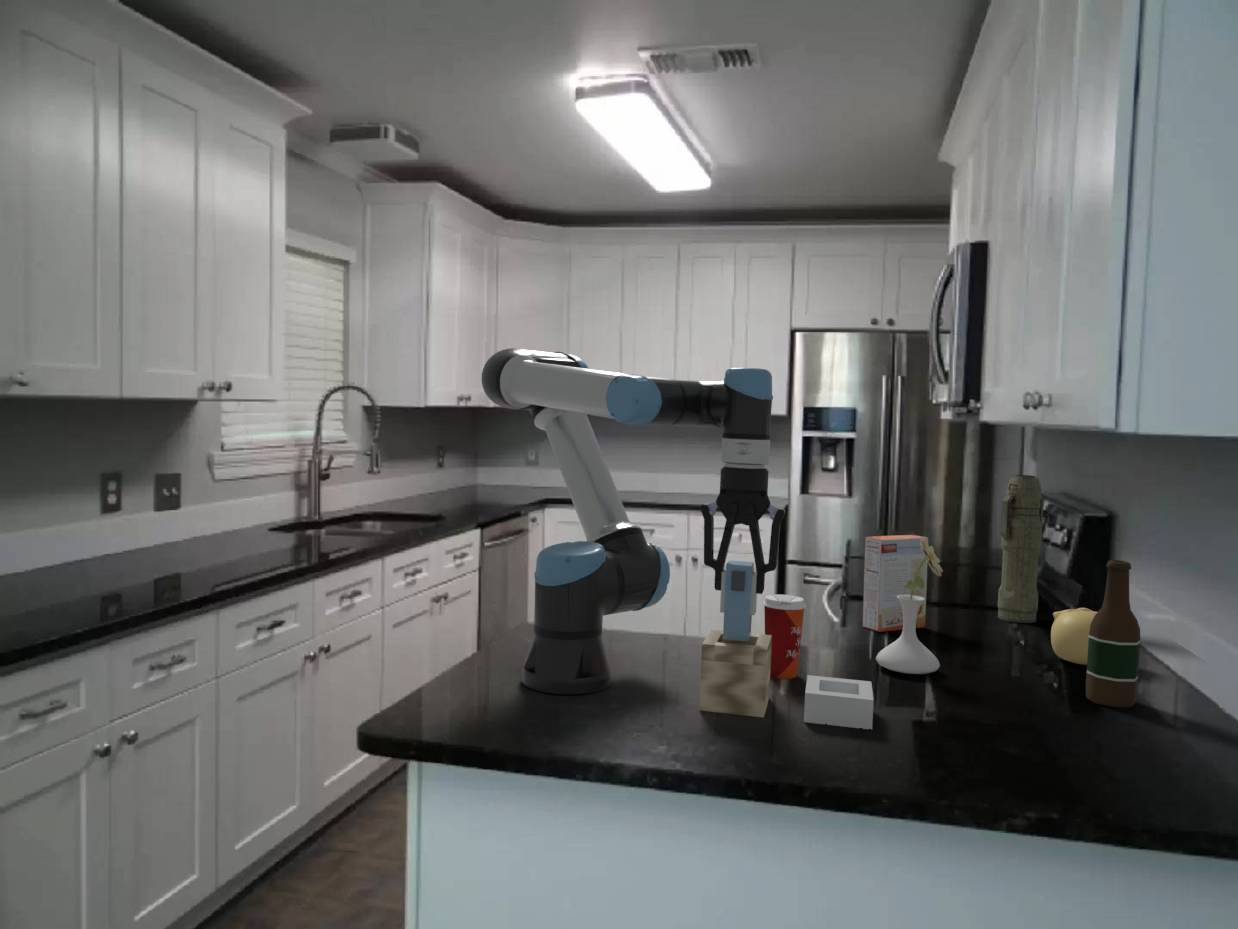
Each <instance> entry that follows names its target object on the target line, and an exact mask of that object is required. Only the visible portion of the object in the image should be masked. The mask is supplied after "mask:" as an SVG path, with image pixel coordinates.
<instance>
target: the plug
mask: <svg viewBox="0 0 1238 929" xmlns="http://www.w3.org/2000/svg"><path fill="white" fill-rule="evenodd" d="M725 569H726V581H725V603H724V613H723V628H722V629H723V630H722V631H723V639H726V640H736V641H746V642H748V641H749V639H750V636H751V633H752V616H753V615H750V601H751V580H752V573H753V571H754V570H755V561H744V560H743V561H740V560H732V559H731V560H728V562H726V564H725ZM754 572H755V571H754Z"/></svg>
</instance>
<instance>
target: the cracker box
mask: <svg viewBox="0 0 1238 929" xmlns="http://www.w3.org/2000/svg"><path fill="white" fill-rule="evenodd" d="M921 537H923V539H924V540H925V538H926V539H927V541H928V542H929V537H927V536H922V535H921V536H920V535H916V534H904V535H903V534H902V535H901V534H900V535H897V534H896V535H877V536H874V535H873V536H866V537H865V538H864V539H865V540H864V542H865V543H864V566H863V567H864V568H863V569H864V570H863V571H864V572H863V598H862V599H863V601H862V602H863V603H862V628H864V629H867V630H872V631H875V632H878V633H883V632H891V631H892V632H893V631H901V630H902V631H903V610H902V606H901V603H900V601H899V600H898V598H897V596H898V595H911V590H909V589H906V588H904V586H905V585H906V584H907V583H908V582H909V580H911V581H912V582H913V581H914V577H915V574H916V571H917V569H918V567H919V566H920V564H921V562H922V561H923V559H924V557H925V556H924V554H923V551H922V549H921V544H920V539H921ZM917 576H920V577H921V578H922V579H923V581H924V584H925V587H924V588H923V589H920V588H919V587H917V588H916V589H914V590H913V596H919V597H923V598H925V600H924V601H923V603H922V604H921V605H920V607H919V610H918V613H917V618H916V629H922V628H926V616H927V615H926V612H927V611H926V610H927V586H928V585H927V584H928V563H927V561H926V560H925V561H924V563H923V565H922V566H921V568H920V570H919V572H918V574H917ZM915 584H916V582H915Z"/></svg>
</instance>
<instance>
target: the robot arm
mask: <svg viewBox="0 0 1238 929" xmlns="http://www.w3.org/2000/svg"><path fill="white" fill-rule="evenodd" d="M481 386H482V390H483V392H484V393H485V396H487V397H488V399H489V401H491V402H493V404H495V405H497V406H499V407H501V408H505V409H508V410H509V409H510V410H518V411H520V410H521V411H528V412H529V414H530V416H531V418H532V421H533V423H534V426H535V427H536V429H537V428H538V429H539V430H542V431H545V432H546V435H547V438H548V441H549V444H550V447H551V449H552V452H553V454H554V456H555V459H556V462H557V464H558V468H559V470H560V473H561V475H562V478H563V481H564V483H565V486H566V488H567V491H568V493H569V496H570V499H571V501H572V504H573V507H574V510H575V512H576V514H577V517H578V518H577V519H578V520H579V523H580V525H581V528H582V531H583V533H584V536H585V538H586V541H584V540H583V541H582V540H581V541H580V540H578V541H573V542H570V541H566V542H560V543H557V544H556V543H555V544H552V545H549V546H547V547H545V548H543V549H541V551H540V552H539V554H538V555H537V557H536V562H535V563H536V564H535V566H536V567H535V571H534V576H533V577H534V613H533V614H534V617H533V618H534V619H533V637H532V640H531V643H530V646H529V648H528V651H527V654H526V657H525V660H524V662H523V666H522V669H521V670H522V672H521V682H522V684H523V685H524V686H525V687H527V688H529V689H531V690H534V691H538V692H541V693H547V694H554V695H583V694H590V693H591V694H592V693H596V692H599V691H602V690H605V689H606V688H608V687H609V686H610V685H611V682H612V680H611V679H612V668H611V665H610V661H609V657H608V655H607V652H606V648H605V645H604V644H605V643H604V641H603V616H609V615H615V614H620V613H625V612H631V611H632V612H637V611H641V610H643V609H645V608H650V607H652V606H655V605H656V604H657V603H659V602H660V601H661V600H662V599H663V597H664V596H665V594H666V592H667V591H668V584H669V583H670V580H671V579H670V578H671V568H670V563H669V562H670V561H669V560H668V557H667V555H666V552H664V550H663V549H662V548H661V547H659V546H657V545H656V544H654V543H652V542H649V543H648V541H647V540H646V537H645V535H644V532H643V530H642V527H640V526H639V525H636V524H633V523H631V521H630V519H629V517H628V515H627V512H626V508H625V507H624V504H623V502H622V499H621V497H620V495H619V492H618V489H617V487H616V485H615V482H614V480H613V477H612V474H611V472H610V469H609V467H608V464H607V462H606V459H605V457H604V455H603V452H602V450H601V447H600V444H599V441H598V440H597V437H596V434H595V432H594V429H593V427H592V424H591V423H590V418H589V417H588V415H590V416H596V417H600V418H606V419H612V420H615V421H616V422H617V423H620V424H626V425H630V426H643V425H644V426H671V427H672V426H674V427H684V428H685V427H688V428H691V427H699V428H701V427H702V428H721V430H722V431H721V432H722V439H721V440H722V442H721V454H720V455H721V458H720V462H721V463H722V464H724V465H723V466H722V467H721V468H720V476H719V477H720V482H719V494H718V496H717V497H716V498H715V501H712V502H709V503H703V504H701V506H700V512H701V514H702V517H703V564H704V565H705V566H707V567H710V568H712V569H713V570H714V583H713V584H714V586H713V587H714V589H715V591H720V606H719V607H720V608H719V613H723V614H724V603H725V581H726V568H725V567H726V564H725V563H726V561H727V556H728V553H729V550H730V544H731V541H732V536H733V533H734V529H735V525H745V526H748V528H749V533H750V538H751V545H752V546H751V547H752V551H753V556H754V558H753V559H754V566H755V569H756V570H755V571H753V573H752V580H751V601H750V615H752V616H755V615H756V614H757V600H758V598H757V597H758V594H759V595H763V593H764V591H765V580H766V578H765V577H766V574H767V573H769V572H774V571H775V570H776V569H777V566H778V555H779V548H780V547H779V546H780V534H781V523H782V521H783V518H784V517H785V514H786V509H785V508H783V507H778V506H776V505H774V504H772V503H771V500H770V498H769V496H768V494H769V493H768V492H769V491H768V489H769V487H768V486H769V474H770V473H769V472H770V471H769V470H768V468H766V466H767V465H769V464H770V453H771V452H770V450H771V449H770V448H771V440H770V439H771V437H770V436H771V435H770V432H771V419H772V410H773V409H772V408H773V399H774V396H773V375H772V373H771V372H770V371H769V370H768V369H765V368H759V367H758V368H755V367H754V368H753V367H729V368H728V369H726V371H725V373H724V378H723V380H720V381H719V380H718V381H711V380H710V381H707V380H690V379H689V380H688V379H678V378H677V379H676V378H664V377H657V376H656V377H655V376H646V375H639V374H632V373H630V374H628V373H621V372H614V371H605V370H598V369H592V368H590V367H589V366H588V365H587V364H586V362H585V361H584V360H583V359H581V358H580V357H578V356H576V355H573V354H570V353H566V352H562V351H552V352H551V351H543V350H542V351H541V350H535V349H525V348H517V347H516V348H515V347H511V348H505V349H501V350H499V351H497V352H496V353H494V354H492V355H491V356H490V357H489V358H488V359H487V361H486V362H485V364H484V366H483V368H482V372H481ZM717 508H718V509H719V510H720V512H721V514H722V516H724V518H725V525H724V530H723V533H722V538H721V542H720V545H719V549H718V552H717V557H716V558H715V556H714V548H715V547H714V542H715V540H714V538H715V537H714V534H715V533H714V532H715V531H714V529H715V528H714V527H715V526H714V523H715V522H714V521H715V520H714V519H715V517H714V516H715V515H716V513H717ZM767 511H768V512H769V518H770V519H771V520H772V522H771V528H770V529H771V530H770V541H769V542H770V543H769V552H768V553H769V554H768V562H765V556H764V552H763V546H762V545H763V544H762V538H761V533H760V532H761V531H760V524H759V521H760V519H761V518H762V517H763V516H764V514H765V513H766V512H767Z"/></svg>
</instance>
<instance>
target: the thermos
mask: <svg viewBox="0 0 1238 929" xmlns="http://www.w3.org/2000/svg"><path fill="white" fill-rule="evenodd" d="M1040 482H1041V481H1040V479H1039V477H1036V475H1027V474H1014V475H1013V476H1011V477H1010V479H1009V481H1008V483H1007V484H1008V485H1007V488H1006V495H1004V497H1003V499H1002V501H1001V503H1002V504H1001V521H1000V522H1001V523H1000V535H1001V543H1000V544H1001V548H1002V566H1001V583H1000V586H999V588H998V591H997V592H998V593H997V608H998V612H997V618H998V619H1000V620H1002V621H1007V622H1011V623H1012V622H1013V623H1021V624H1032V623H1033V624H1034V623H1036V622H1037V613H1038V611H1039V610H1038V608H1039V590H1038V588H1037V586H1038V585H1037V582H1038V568H1039V567H1038V564H1039V552H1040V551H1041V548H1042V537H1043V536H1042V535H1043V534H1042V533H1043V523H1044V522H1043V521H1044V520H1043V519H1044V506H1045V505H1044V503H1045V501H1044V500H1045V499H1044V498H1043V496H1042V485H1041V483H1040Z"/></svg>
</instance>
